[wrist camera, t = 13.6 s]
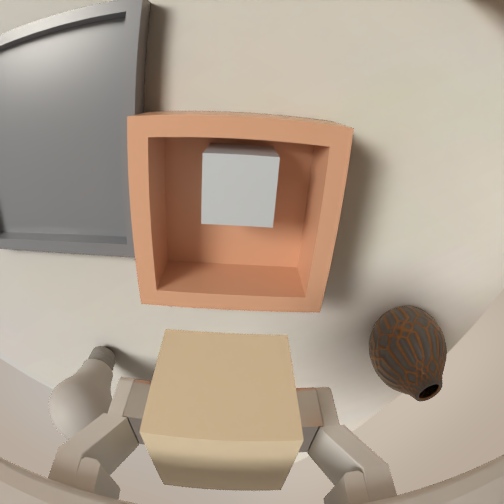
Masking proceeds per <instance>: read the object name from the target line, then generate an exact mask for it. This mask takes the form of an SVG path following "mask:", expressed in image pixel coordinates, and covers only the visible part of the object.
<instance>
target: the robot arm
mask: <svg viewBox="0 0 504 504" xmlns="http://www.w3.org/2000/svg"><path fill="white" fill-rule="evenodd" d="M151 382H152V381H146V380H139V379H133V378H127V377H121V378H120V379H119V381H118V384H117V387H116V390H115V393H114V396H113V399H112V402H111V405H110V408H109V411H108V414H107V413H103V414H102V415H100V416H99V417H98V418H97V419H95V420H94V421H93V422H91V423H90V424H89V425H87V426H86V427H85V428H84V429H82V430H81V431H80V432H78V433H77V434H76V435H74V436H73V437H72V438H70V439H69V440H68V441H66V442H65V443H64V444H62V445H61V446H60V447H59V448H58V450H57V453H56V456H55V459H54V462H53V465H52V468H51V471H50V474H49V477H48V478H46V477H43V476H41V475H38V474H36V473H34V472H31V471H29V470H26V469H24V468H22V467H20V466H17V465H15V464H13V463H11V462H9V461H7V460H5V459H3V458H1V457H0V504H135V503H131V502H126V501H122V500H118V499H119V493H120V488H119V486H118V485H117V484H116V483H115V481H114V480H113V479H112V478H111V477H110V474H111V473H112V472H113V471H114V470H115V469H116V468H117V467H118V466H119V465H120V464H121V463H122V462H123V461H124V460H125V459H126V458H127V457H128V456H129V455H130V454H131V453H132V452H133V451H134V450H135V448H136V447H137V446H138V445H139V444H144V441H143V439H142V437H141V434H140V432H139V431H140V427H141V423H142V418H143V414H144V410H145V406H146V402H147V398H148V394H149V390H150V386H151ZM296 392H297V399H298V406H299V412H300V419H301V426H302V432H303V439H304V441H303V443H302V445H301V447H300V450H299V452H307V453H308V454H309V456H310V457H311V458H312V459H313V460H314V462H315V463H316V464H317V465H318V466H319V467H320V469H321V470H322V471H323V472H324V473H325V475H326V476H327V477H328V478H329V479H330V480H331V481H332V483H333V484H334V485H335V486H334V487H333V489H332V490H331V491H330V492H329V493H328V494H327V495H326V496H325V498H324V504H504V455H502V456H500V457H498V458H496V459H494V460H492V461H490V462H488V463H485V464H483V465H481V466H479V467H477V468H474V469H472V470H470V471H468V472H465V473H463V474H460V475H458V476H455V477H453V478H450V479H447V480H445V481H442V482H439V483H436V484H433V485H430V486H427V487H424V488H421V489H418V490H414V491H411V492H408V493H404V494H400V495H397V494H396V490H395V487H394V483H393V479H392V476H391V472H390V469H389V465H388V464H387V463H386V462H385V461H384V460H383V459H382V458H380V457H379V456H378V455H377V454H376V453H375V452H374V451H372V450H371V449H370V448H369V447H368V446H367V445H366V444H364V443H363V442H362V441H361V440H360V439H359V438H358V437H357V436H355V435H354V434H353V433H352V432H351V431H350V430H349V429H348V428H347V427H346V426H344V425H340V424H339V420H338V416H337V412H336V408H335V404H334V400H333V396H332V392H331V389H330V388H329V387H321V388H314V387H313V388H296Z"/></svg>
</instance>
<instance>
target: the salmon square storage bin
mask: <svg viewBox="0 0 504 504" xmlns="http://www.w3.org/2000/svg"><path fill="white" fill-rule="evenodd" d="M353 129H354V128H351V127H348V126H345V125H342V124H339V123H335V122H332V121H325V120H318V119H310V118H302V117H292V116H282V115H271V114H258V113H242V112H219V111H157V112H146V113H141V114H136V115H131V116H127V151H128V178H129V196H130V210H131V222H132V233H133V243H134V252H135V261H136V269H137V277H138V284H139V291H140V298H141V304H151V305H163V306H176V307H191V308H207V309H225V310H247V311H275V312H320V310H321V306H322V301H323V297H324V293H325V288H326V284H327V279H328V275H329V270H330V265H331V261H332V256H333V251H334V246H335V241H336V236H337V231H338V225H339V220H340V214H341V209H342V203H343V197H344V191H345V185H346V179H347V172H348V166H349V159H350V152H351V145H352V137H353ZM210 143H235V144H252V145H266V146H274V148H275V150H276V152H277V153H278V155H279V157H280V162H279V172H278V182H277V192H276V202H275V212H274V221H273V228H270V227H253V226H235V225H215V224H201V203H202V160H203V152H204V151H205V149H206V148H207V147H208V145H209V144H210Z"/></svg>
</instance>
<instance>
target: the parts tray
mask: <svg viewBox="0 0 504 504" xmlns="http://www.w3.org/2000/svg"><path fill="white" fill-rule="evenodd" d="M150 6H151V3H150V2H149V1H148V0H114V1H108V2H103V3H98V4H94V5H89V6H85V7H81V8H77V9H73V10H69V11H66V12H62V13H59V14H55V15H52V16H49V17H46V18H43V19H40V20H37V21H34V22H31V23H28V24H26V25H23V26H20V27H18V28H15V29H13V30H10V31H8V32H5V33H3V34H1V35H0V249H12V250H26V251H41V252H55V253H71V254H86V255H102V256H119V257H135V252H134V243H133V233H132V222H131V210H130V196H129V178H128V151H127V116H131V115H136V114H141V113H143V109H144V79H145V61H146V47H147V35H148V24H149V15H150Z"/></svg>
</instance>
